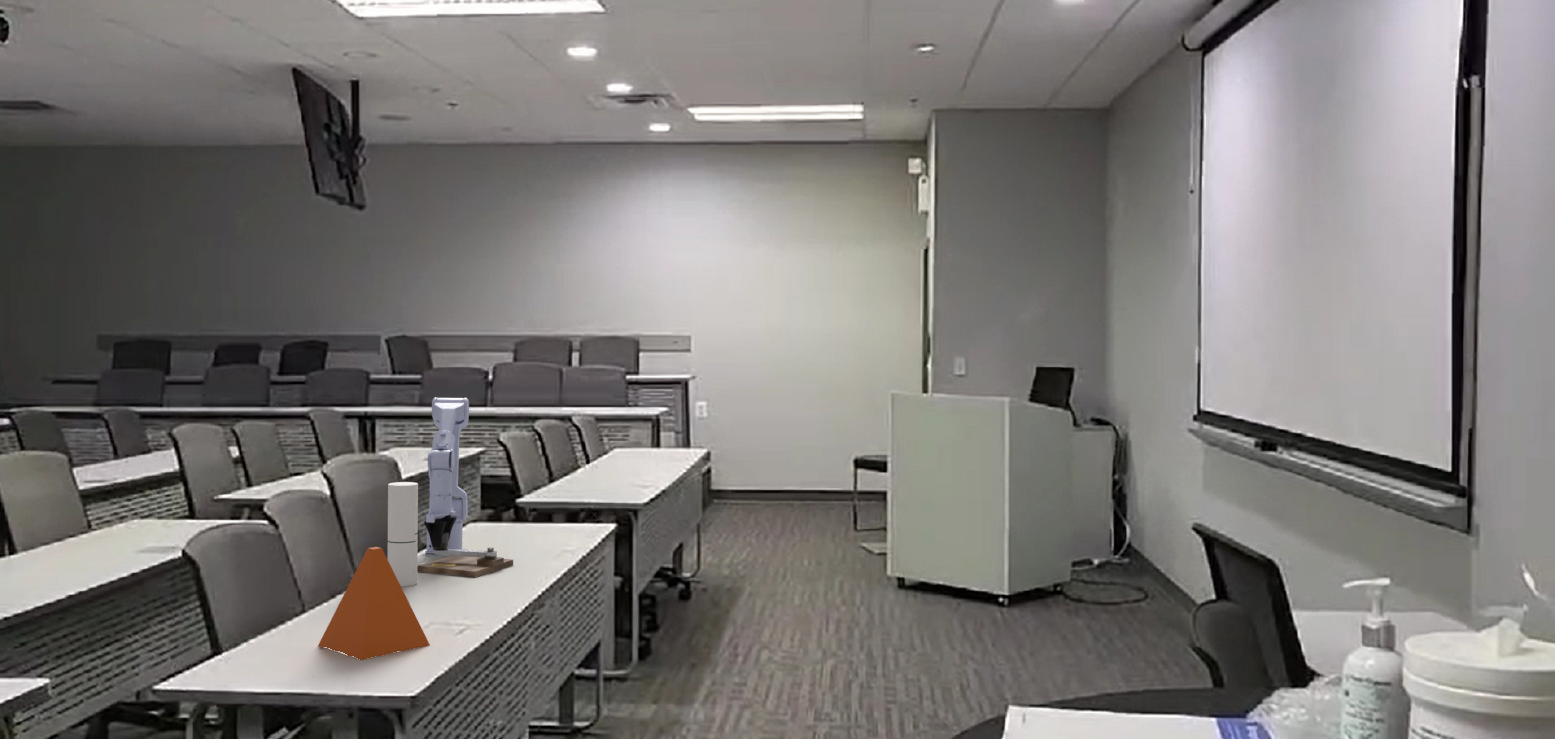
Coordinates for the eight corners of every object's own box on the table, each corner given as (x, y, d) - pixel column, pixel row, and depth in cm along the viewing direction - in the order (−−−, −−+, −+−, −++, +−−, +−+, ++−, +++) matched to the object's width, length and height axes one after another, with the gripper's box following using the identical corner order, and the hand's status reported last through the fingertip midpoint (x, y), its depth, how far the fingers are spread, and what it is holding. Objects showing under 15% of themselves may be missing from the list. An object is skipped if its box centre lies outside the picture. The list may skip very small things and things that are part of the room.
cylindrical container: (421, 581, 315) (422, 482, 314) (410, 586, 308) (411, 486, 307) (394, 580, 315) (395, 481, 315) (382, 585, 308) (383, 485, 307)
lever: (499, 555, 332) (499, 534, 332) (493, 558, 328) (493, 536, 328) (436, 552, 335) (436, 531, 335) (430, 555, 331) (430, 533, 331)
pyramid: (385, 632, 263) (386, 538, 262) (430, 646, 253) (431, 548, 252) (317, 646, 251) (317, 548, 250) (361, 661, 241) (361, 558, 240)
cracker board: (416, 571, 327) (416, 560, 327) (456, 559, 344) (456, 548, 344) (476, 577, 320) (477, 565, 320) (514, 565, 337) (514, 554, 337)
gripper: (444, 498, 324) (444, 550, 325) (465, 491, 338) (464, 541, 339) (418, 498, 325) (418, 549, 325) (440, 490, 339) (439, 540, 340)
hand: (440, 545), depth 332 cm, fingers open, 5 cm apart
